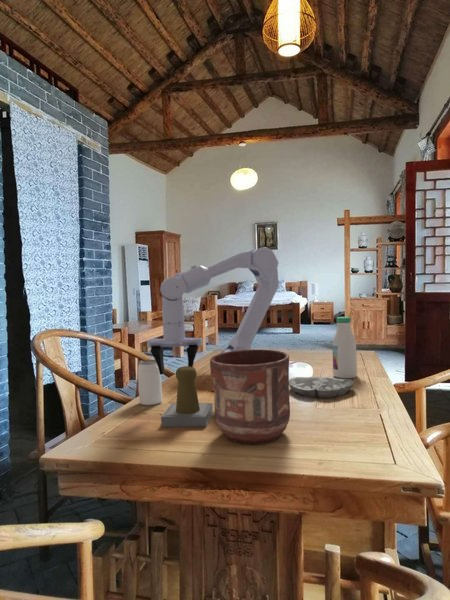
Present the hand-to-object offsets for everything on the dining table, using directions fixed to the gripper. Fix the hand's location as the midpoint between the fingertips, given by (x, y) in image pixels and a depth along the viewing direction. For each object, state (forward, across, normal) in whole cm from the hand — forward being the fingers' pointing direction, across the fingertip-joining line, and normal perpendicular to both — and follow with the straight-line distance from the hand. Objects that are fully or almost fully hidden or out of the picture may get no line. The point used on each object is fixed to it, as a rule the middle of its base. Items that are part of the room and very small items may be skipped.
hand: (176, 373), depth 121 cm
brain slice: (+11, +39, +17) cm, 44 cm away
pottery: (+11, +21, -18) cm, 29 cm away
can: (+11, -10, +9) cm, 17 cm away
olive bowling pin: (+8, +4, -7) cm, 11 cm away
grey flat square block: (+10, +4, -6) cm, 13 cm away
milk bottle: (+10, +50, +36) cm, 62 cm away
